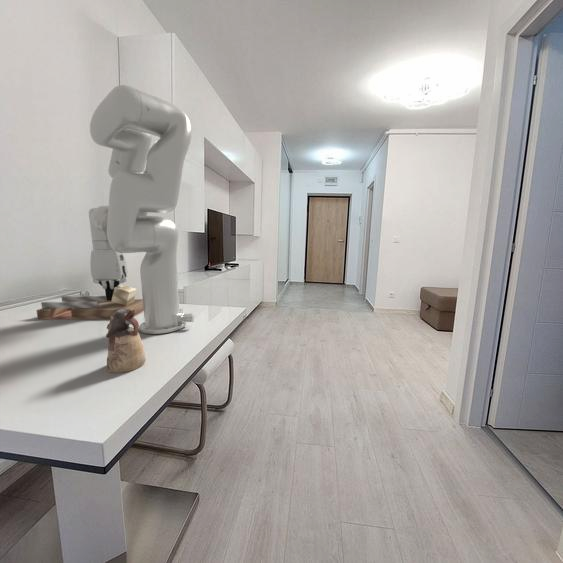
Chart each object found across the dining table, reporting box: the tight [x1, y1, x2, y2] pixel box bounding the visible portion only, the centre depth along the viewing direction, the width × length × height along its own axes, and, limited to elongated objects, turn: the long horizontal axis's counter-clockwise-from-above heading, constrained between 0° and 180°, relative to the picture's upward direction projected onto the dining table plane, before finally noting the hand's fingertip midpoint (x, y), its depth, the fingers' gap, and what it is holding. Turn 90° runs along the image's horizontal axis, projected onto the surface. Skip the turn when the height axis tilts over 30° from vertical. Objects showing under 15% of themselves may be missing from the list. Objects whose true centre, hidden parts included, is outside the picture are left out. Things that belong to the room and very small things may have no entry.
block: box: [112, 284, 137, 306], centre depth 98 cm, size 5×5×5 cm
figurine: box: [105, 309, 147, 374], centre depth 59 cm, size 7×7×12 cm
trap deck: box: [36, 295, 144, 320], centre depth 98 cm, size 30×14×5 cm, turn 91°
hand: (111, 299), depth 98 cm, fingers closed
